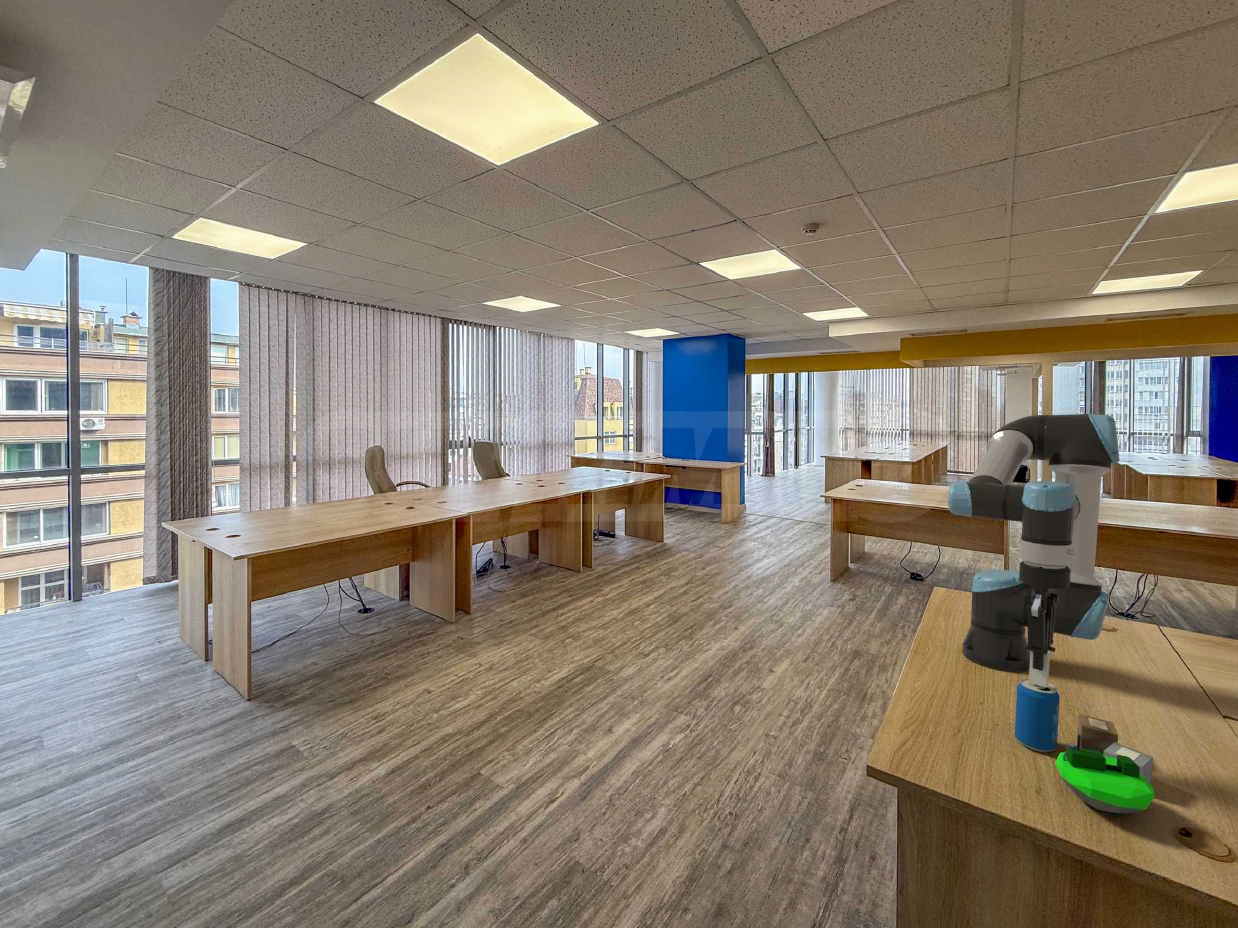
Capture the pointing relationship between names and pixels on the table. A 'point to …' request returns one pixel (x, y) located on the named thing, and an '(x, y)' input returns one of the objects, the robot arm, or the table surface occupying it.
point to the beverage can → (1037, 716)
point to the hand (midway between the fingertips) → (1038, 683)
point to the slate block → (1138, 757)
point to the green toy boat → (1105, 780)
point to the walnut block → (1096, 733)
